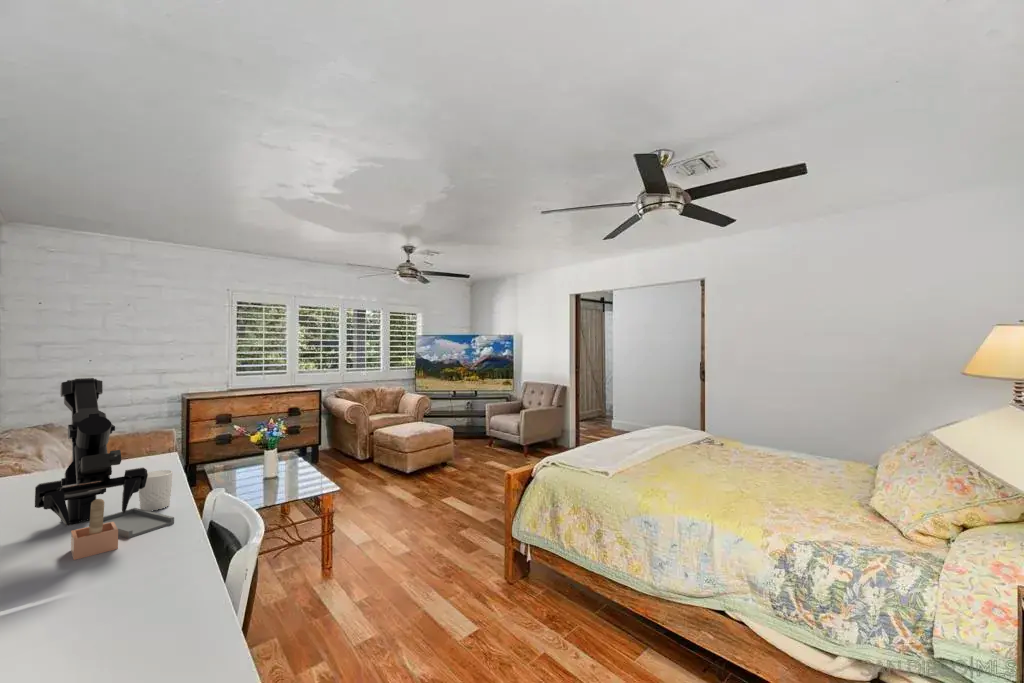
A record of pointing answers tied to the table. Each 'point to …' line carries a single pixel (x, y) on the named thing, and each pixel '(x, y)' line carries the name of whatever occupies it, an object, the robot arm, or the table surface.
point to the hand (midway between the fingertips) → (96, 518)
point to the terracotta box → (94, 541)
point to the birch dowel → (96, 516)
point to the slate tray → (137, 522)
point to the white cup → (156, 490)
